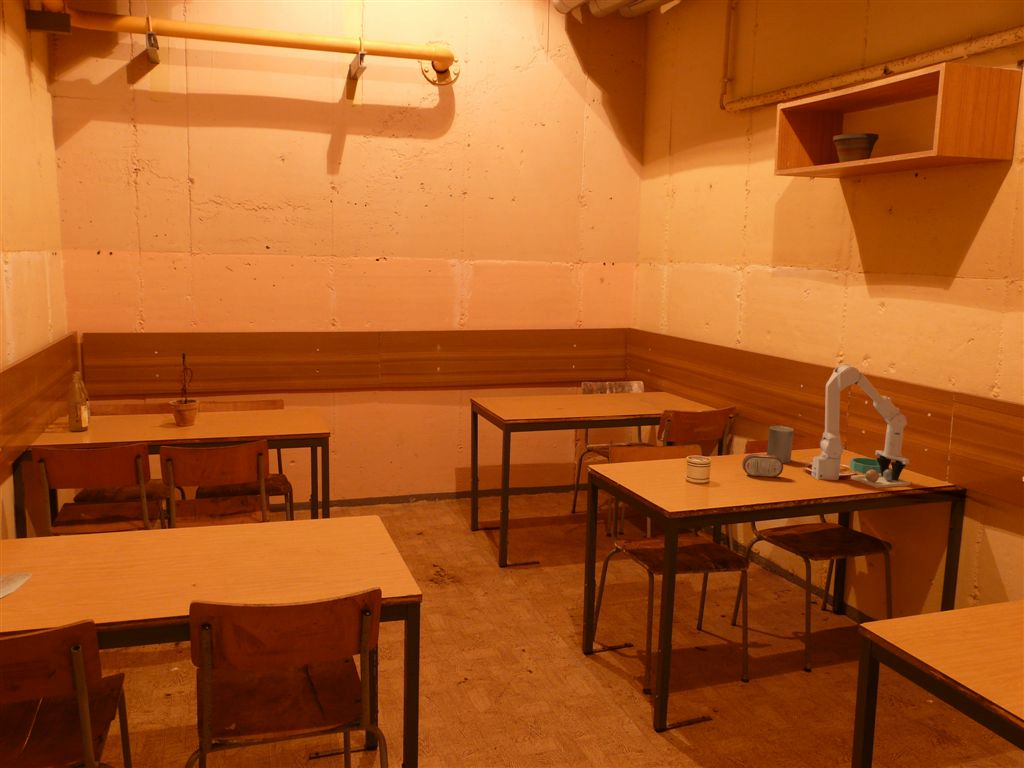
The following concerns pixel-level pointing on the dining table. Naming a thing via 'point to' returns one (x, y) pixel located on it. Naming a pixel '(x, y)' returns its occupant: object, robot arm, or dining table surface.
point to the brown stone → (872, 476)
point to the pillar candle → (780, 442)
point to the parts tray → (881, 481)
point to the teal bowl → (864, 465)
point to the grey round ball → (888, 474)
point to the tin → (762, 465)
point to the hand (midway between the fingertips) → (889, 478)
